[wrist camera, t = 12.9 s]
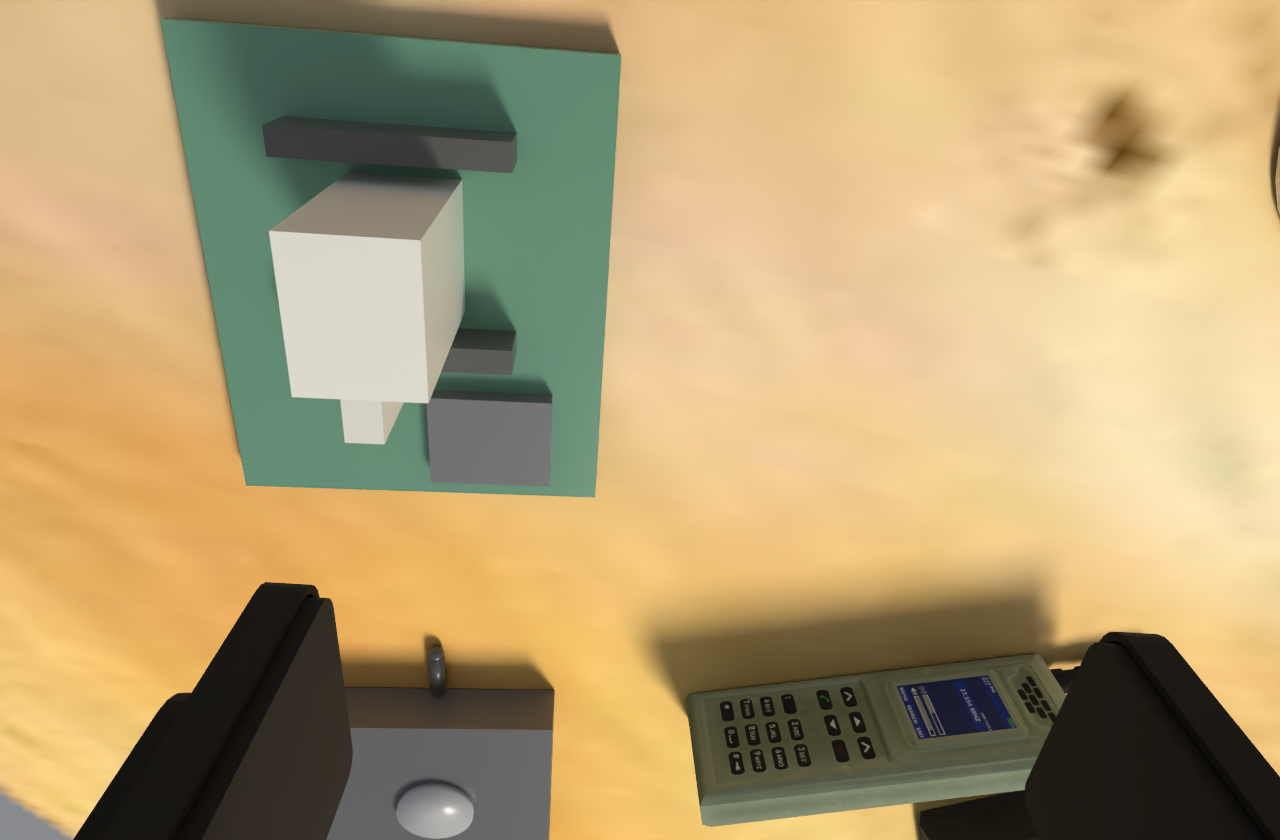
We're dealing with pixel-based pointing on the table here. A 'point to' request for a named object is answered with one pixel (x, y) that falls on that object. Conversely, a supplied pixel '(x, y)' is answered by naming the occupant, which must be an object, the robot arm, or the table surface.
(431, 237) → the plug
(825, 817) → the table surface
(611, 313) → the table surface
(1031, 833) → the portable cd player
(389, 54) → the board
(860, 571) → the table surface
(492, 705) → the gray dome slab
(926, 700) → the handheld radio
